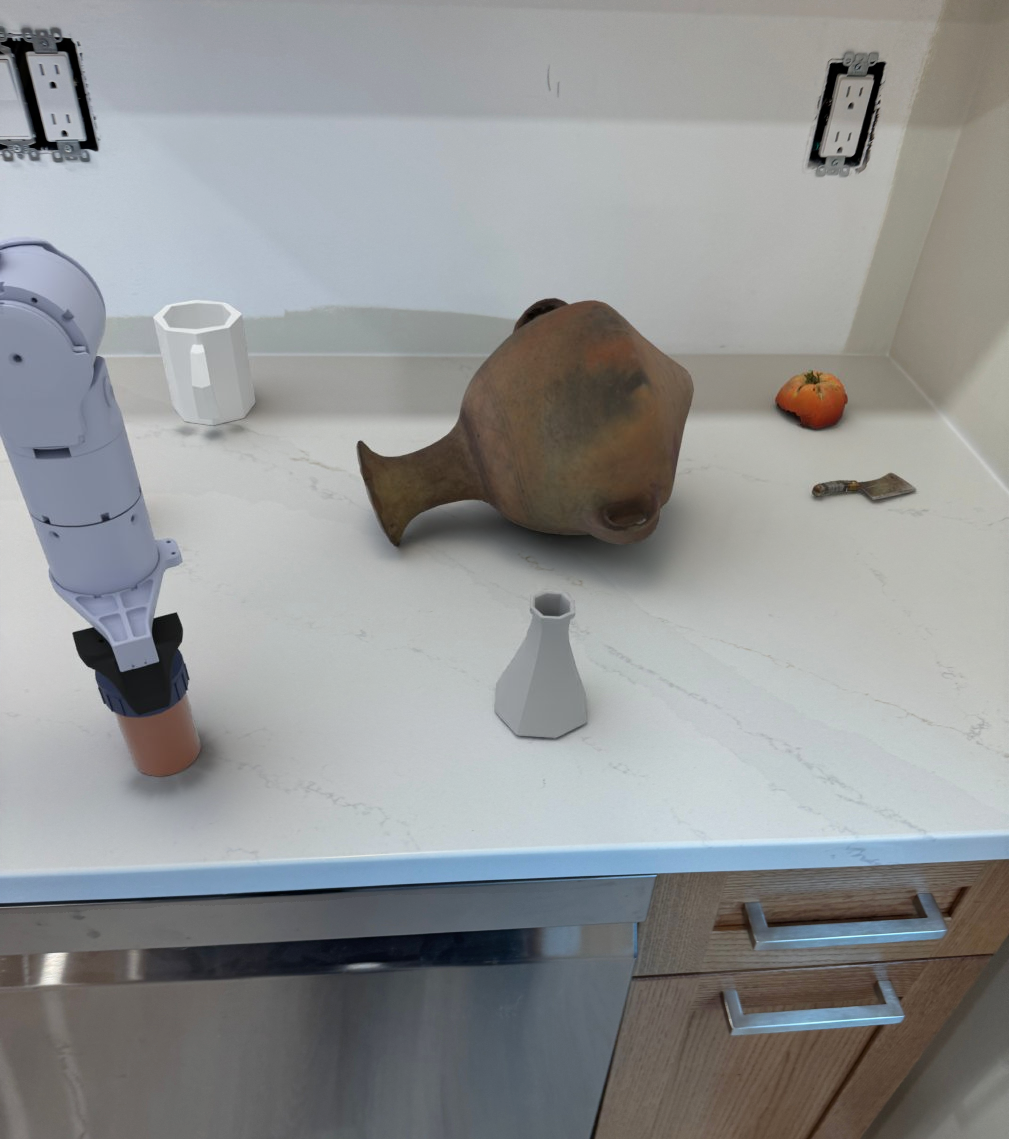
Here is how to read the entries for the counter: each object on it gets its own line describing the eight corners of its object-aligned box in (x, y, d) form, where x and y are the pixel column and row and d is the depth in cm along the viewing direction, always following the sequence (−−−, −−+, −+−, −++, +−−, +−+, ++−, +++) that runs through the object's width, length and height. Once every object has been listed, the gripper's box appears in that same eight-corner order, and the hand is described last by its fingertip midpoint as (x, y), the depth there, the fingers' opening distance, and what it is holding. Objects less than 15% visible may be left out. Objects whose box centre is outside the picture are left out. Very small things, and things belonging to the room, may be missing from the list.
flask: (508, 749, 64) (517, 646, 57) (481, 680, 69) (486, 577, 62) (602, 731, 66) (622, 630, 59) (569, 665, 71) (584, 564, 64)
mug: (174, 390, 99) (154, 301, 92) (254, 385, 100) (240, 298, 93) (171, 446, 90) (149, 352, 83) (258, 440, 92) (244, 348, 85)
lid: (111, 729, 55) (102, 706, 54) (95, 673, 58) (87, 650, 57) (198, 703, 57) (192, 680, 56) (178, 650, 60) (172, 628, 59)
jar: (139, 785, 60) (109, 705, 54) (125, 738, 63) (96, 658, 57) (208, 763, 62) (186, 683, 56) (191, 718, 64) (169, 638, 59)
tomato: (784, 374, 106) (835, 345, 100) (816, 421, 108) (868, 394, 102) (756, 409, 102) (807, 380, 96) (790, 456, 104) (842, 431, 98)
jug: (666, 468, 93) (382, 523, 92) (657, 265, 82) (334, 326, 81) (736, 551, 76) (389, 620, 75) (735, 310, 65) (329, 387, 64)
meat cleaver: (924, 503, 91) (902, 478, 94) (928, 493, 90) (906, 468, 94) (815, 502, 89) (797, 476, 93) (819, 492, 88) (801, 466, 92)
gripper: (194, 554, 45) (236, 735, 54) (135, 419, 53) (180, 595, 63) (42, 589, 42) (114, 773, 51) (7, 442, 51) (74, 621, 60)
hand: (143, 677), depth 57 cm, fingers closed on lid, 5 cm apart
